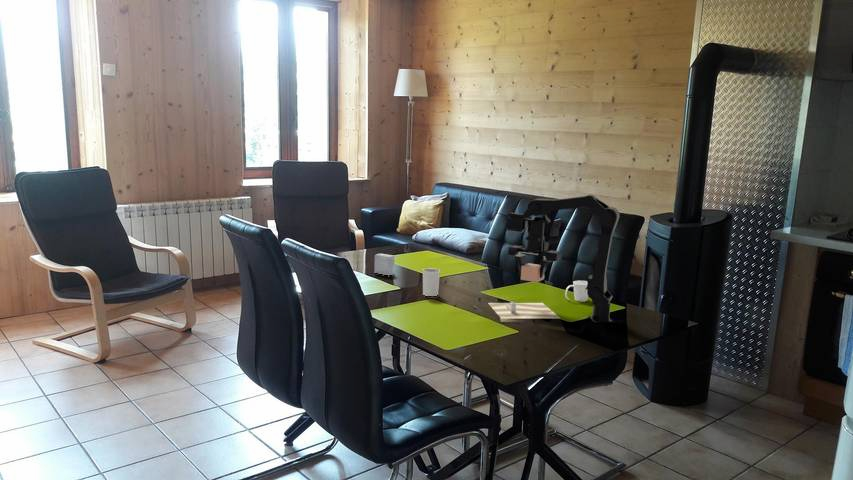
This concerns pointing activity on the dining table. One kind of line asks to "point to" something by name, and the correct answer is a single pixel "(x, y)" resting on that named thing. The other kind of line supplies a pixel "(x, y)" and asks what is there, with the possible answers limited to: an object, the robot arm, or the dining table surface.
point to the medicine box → (384, 264)
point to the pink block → (531, 272)
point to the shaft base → (521, 311)
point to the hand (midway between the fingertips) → (532, 276)
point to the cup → (579, 291)
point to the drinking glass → (431, 281)
